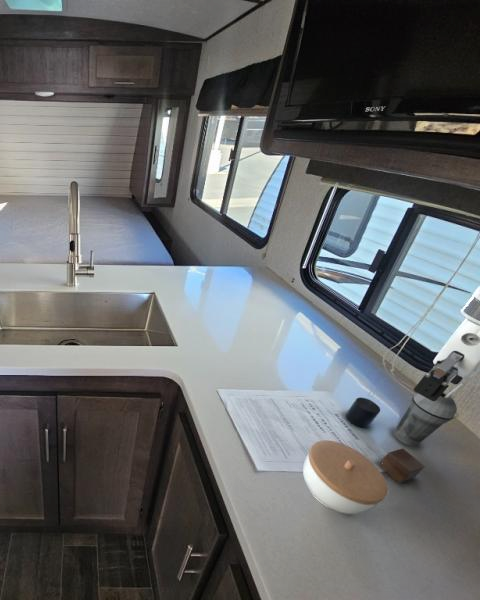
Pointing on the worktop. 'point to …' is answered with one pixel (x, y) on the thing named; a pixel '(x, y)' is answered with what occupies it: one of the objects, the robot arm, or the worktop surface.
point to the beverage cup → (425, 417)
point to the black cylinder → (362, 412)
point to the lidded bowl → (343, 478)
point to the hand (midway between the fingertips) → (435, 387)
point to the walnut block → (401, 465)
